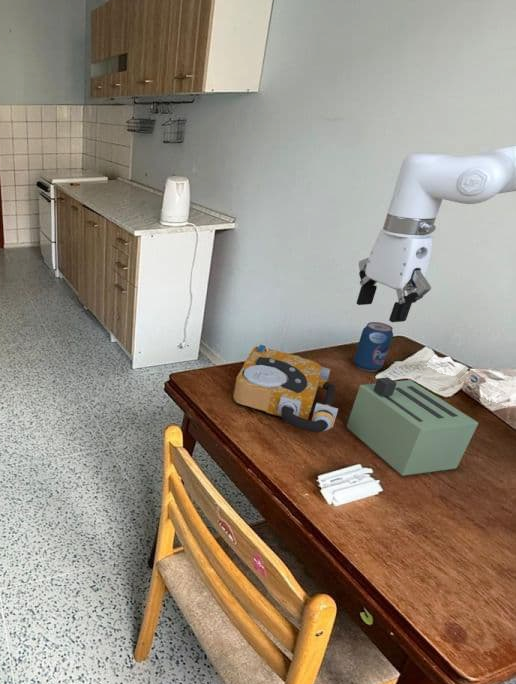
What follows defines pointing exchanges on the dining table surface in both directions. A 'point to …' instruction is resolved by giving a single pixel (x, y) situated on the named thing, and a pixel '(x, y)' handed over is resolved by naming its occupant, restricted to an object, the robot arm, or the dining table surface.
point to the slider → (385, 386)
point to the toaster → (411, 428)
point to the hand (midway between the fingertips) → (379, 312)
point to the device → (286, 388)
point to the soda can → (373, 346)
